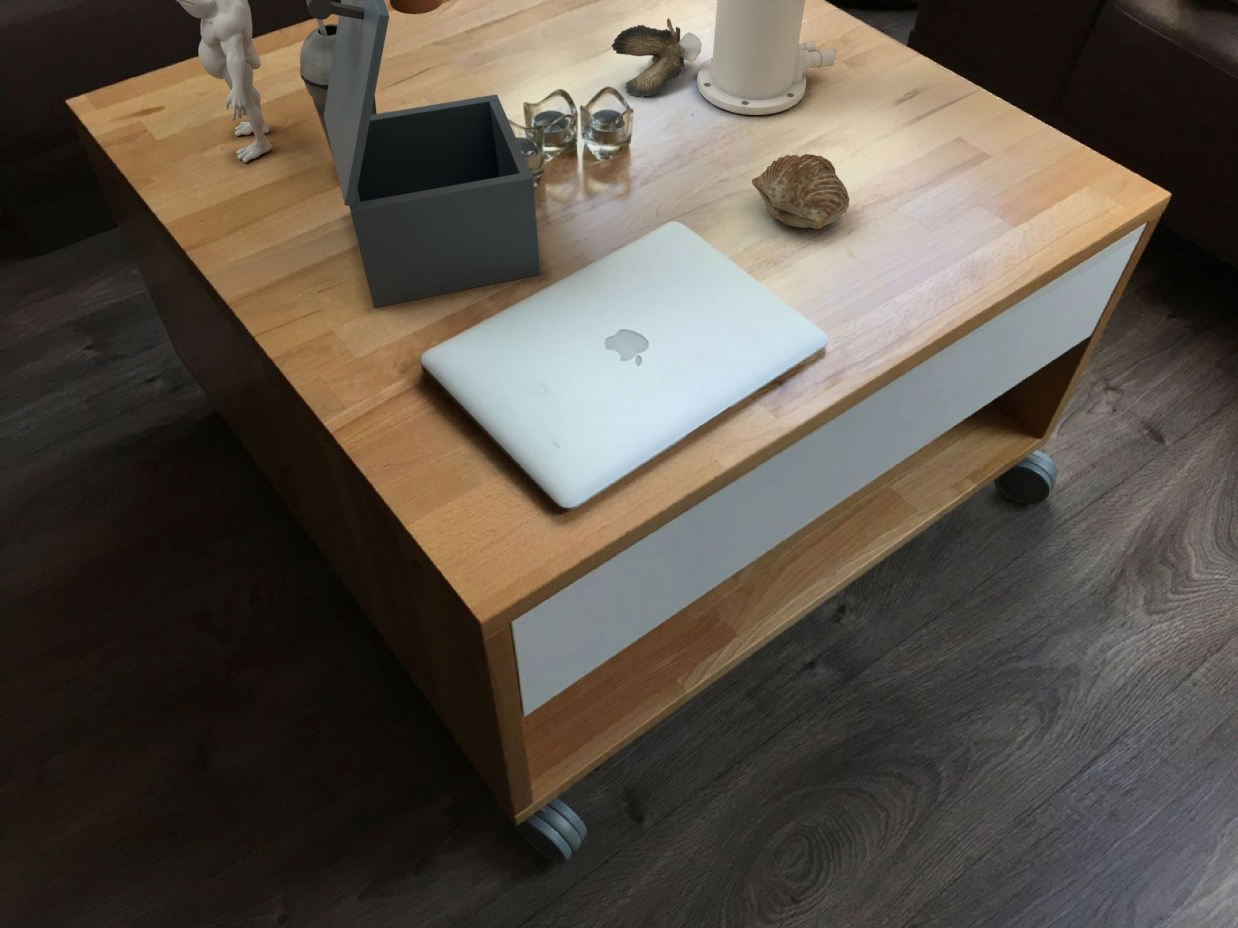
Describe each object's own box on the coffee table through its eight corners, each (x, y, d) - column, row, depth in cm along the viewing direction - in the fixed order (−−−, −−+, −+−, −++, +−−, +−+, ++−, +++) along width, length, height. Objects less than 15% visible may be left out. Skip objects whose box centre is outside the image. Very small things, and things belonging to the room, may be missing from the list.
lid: (361, -66, 83) (298, -81, 81) (389, 15, 75) (320, 2, 73) (332, 117, 95) (276, 109, 92) (354, 207, 86) (292, 200, 84)
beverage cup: (381, 194, 106) (341, 5, 90) (314, 185, 107) (264, -3, 91) (404, 154, 110) (370, -32, 95) (340, 146, 111) (296, -40, 96)
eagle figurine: (650, 40, 123) (598, 54, 118) (683, 0, 118) (630, 13, 112) (683, 94, 123) (632, 110, 118) (717, 57, 118) (666, 72, 112)
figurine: (220, 103, 116) (167, -59, 102) (280, 95, 117) (236, -67, 103) (225, 196, 105) (167, 29, 91) (292, 186, 107) (244, 19, 93)
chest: (506, 190, 106) (496, 94, 98) (540, 274, 98) (533, 177, 89) (352, 218, 103) (328, 121, 95) (373, 307, 95) (350, 210, 86)
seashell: (802, 259, 101) (855, 220, 104) (812, 204, 95) (868, 165, 98) (735, 211, 105) (788, 175, 108) (740, 156, 99) (796, 120, 102)
